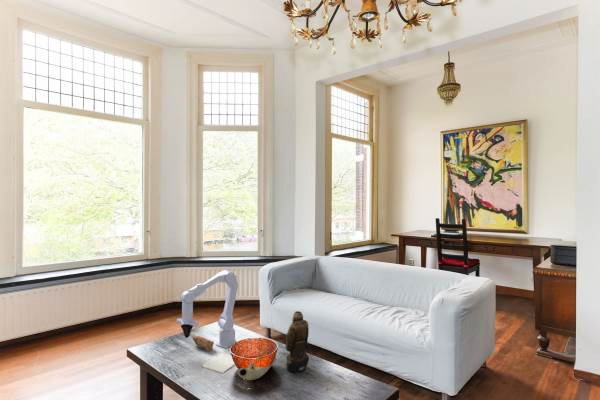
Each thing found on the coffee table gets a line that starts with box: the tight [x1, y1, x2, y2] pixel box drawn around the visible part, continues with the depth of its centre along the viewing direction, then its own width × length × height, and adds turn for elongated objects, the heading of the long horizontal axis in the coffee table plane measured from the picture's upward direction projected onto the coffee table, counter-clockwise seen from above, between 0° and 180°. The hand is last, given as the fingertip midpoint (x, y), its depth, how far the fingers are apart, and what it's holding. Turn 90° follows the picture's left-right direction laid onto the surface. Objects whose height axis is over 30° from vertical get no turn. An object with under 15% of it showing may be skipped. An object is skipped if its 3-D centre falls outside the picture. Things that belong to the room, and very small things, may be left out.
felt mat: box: [201, 352, 236, 374], centre depth 184 cm, size 16×14×1 cm
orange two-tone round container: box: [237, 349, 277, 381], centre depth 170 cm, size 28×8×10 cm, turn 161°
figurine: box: [192, 335, 215, 352], centre depth 201 cm, size 8×8×15 cm
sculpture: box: [285, 310, 310, 374], centre depth 180 cm, size 12×13×30 cm
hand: (187, 337), depth 193 cm, fingers closed
